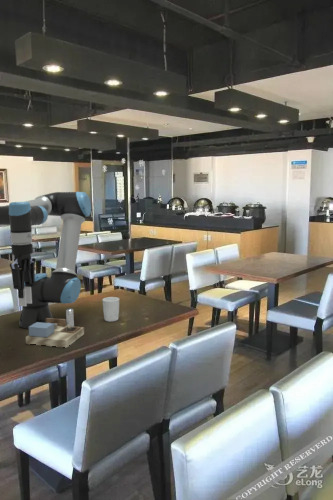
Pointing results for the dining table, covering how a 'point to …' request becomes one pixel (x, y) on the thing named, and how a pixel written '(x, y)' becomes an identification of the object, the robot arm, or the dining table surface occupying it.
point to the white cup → (111, 308)
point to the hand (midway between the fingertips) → (25, 304)
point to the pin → (70, 319)
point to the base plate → (57, 335)
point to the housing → (41, 329)
